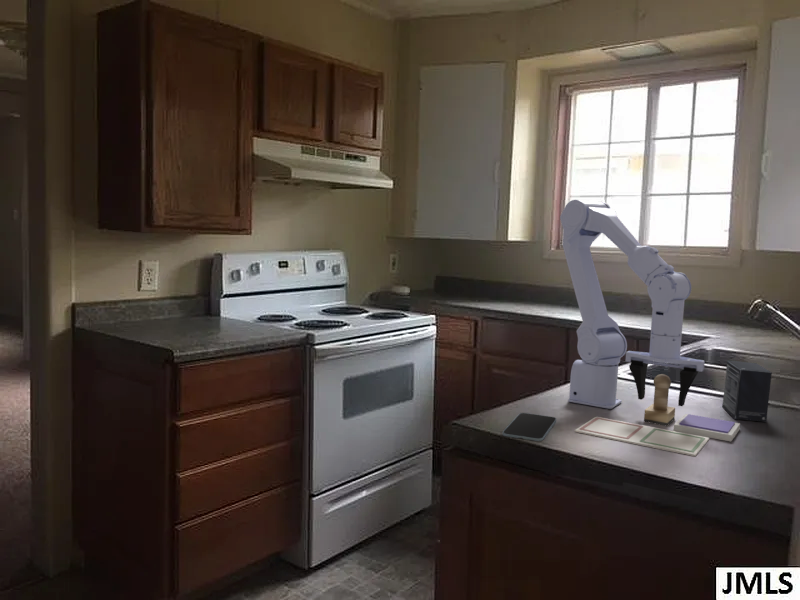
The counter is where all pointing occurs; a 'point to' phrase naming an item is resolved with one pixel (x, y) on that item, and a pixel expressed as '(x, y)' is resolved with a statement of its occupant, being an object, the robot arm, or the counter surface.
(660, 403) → the stamp
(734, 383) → the small box
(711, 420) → the ink pad
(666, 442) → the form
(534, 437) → the smartphone
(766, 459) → the counter surface
